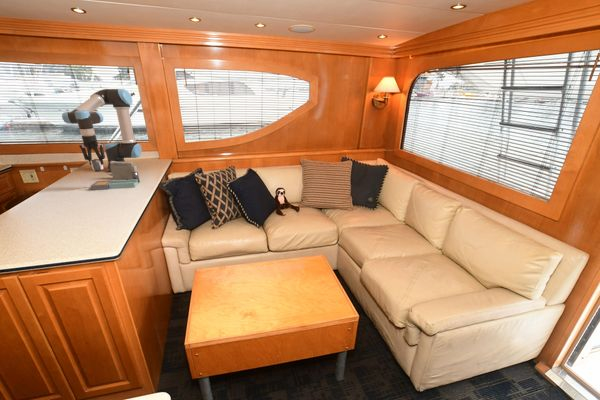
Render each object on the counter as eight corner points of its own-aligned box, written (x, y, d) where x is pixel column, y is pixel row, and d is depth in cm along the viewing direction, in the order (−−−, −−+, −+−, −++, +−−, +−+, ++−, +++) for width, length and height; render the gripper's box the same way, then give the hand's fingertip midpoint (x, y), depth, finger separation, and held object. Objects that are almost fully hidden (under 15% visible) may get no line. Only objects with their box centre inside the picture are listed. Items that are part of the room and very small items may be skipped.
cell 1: (96, 170, 190) (93, 158, 186) (103, 170, 191) (99, 158, 187) (94, 172, 186) (90, 159, 183) (100, 171, 187) (97, 159, 184)
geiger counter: (136, 161, 208) (106, 159, 210) (131, 163, 202) (99, 161, 204) (140, 178, 213) (110, 177, 215) (135, 180, 207) (104, 179, 209)
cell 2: (134, 181, 206) (132, 170, 202) (140, 181, 207) (138, 170, 203) (133, 183, 202) (130, 172, 199) (139, 182, 203) (136, 171, 200)
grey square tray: (98, 185, 196) (96, 181, 195) (113, 184, 198) (112, 180, 197) (91, 190, 187) (90, 185, 186) (108, 189, 189) (106, 184, 188)
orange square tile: (98, 183, 194) (98, 181, 194) (109, 182, 196) (109, 181, 195) (94, 186, 188) (94, 184, 188) (105, 185, 190) (105, 184, 189)
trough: (113, 185, 198) (112, 180, 196) (138, 183, 201) (137, 179, 200) (109, 188, 190) (108, 184, 189) (134, 187, 194) (133, 182, 193)
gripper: (70, 136, 174) (81, 171, 183) (100, 135, 177) (110, 170, 187) (76, 134, 180) (86, 168, 189) (105, 133, 184) (114, 167, 193)
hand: (98, 169), depth 188 cm, fingers closed on cell 1, 4 cm apart
